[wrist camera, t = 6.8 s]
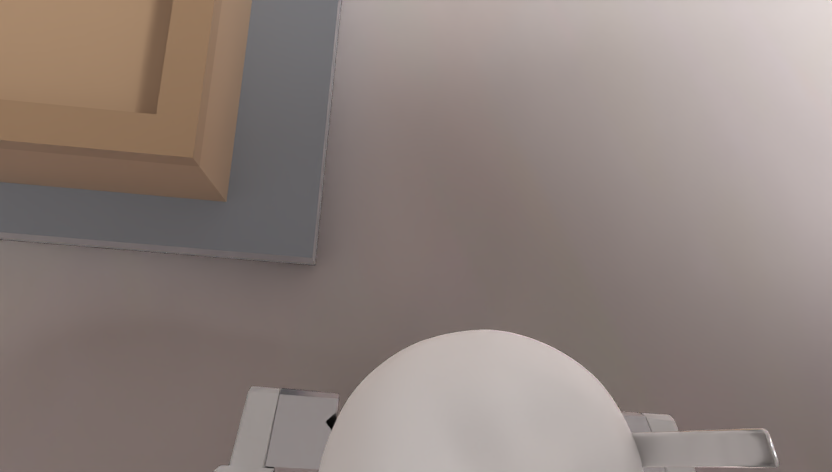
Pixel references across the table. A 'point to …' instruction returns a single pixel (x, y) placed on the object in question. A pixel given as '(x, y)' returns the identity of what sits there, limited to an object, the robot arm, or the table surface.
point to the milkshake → (509, 416)
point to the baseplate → (167, 124)
